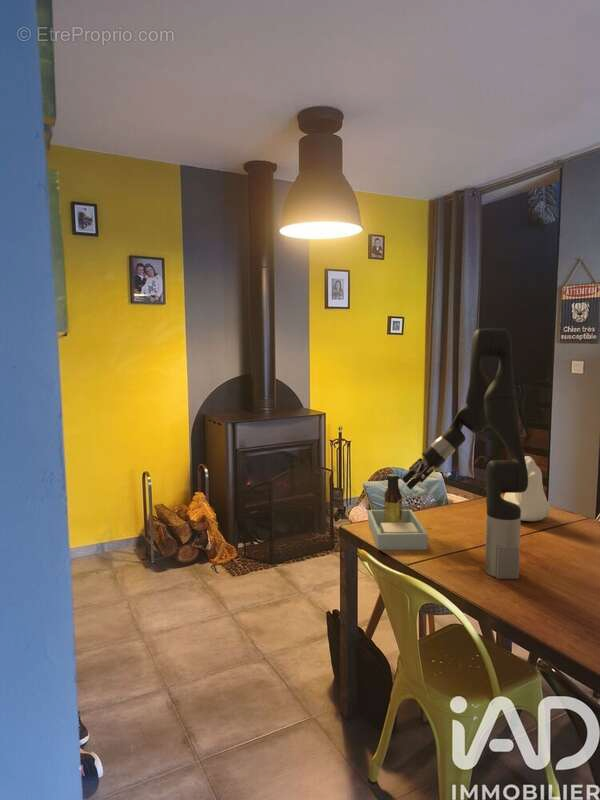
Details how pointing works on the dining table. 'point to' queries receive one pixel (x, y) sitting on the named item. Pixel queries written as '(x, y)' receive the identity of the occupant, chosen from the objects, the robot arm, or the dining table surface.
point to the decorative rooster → (531, 495)
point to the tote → (397, 539)
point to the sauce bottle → (393, 500)
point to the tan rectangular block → (398, 528)
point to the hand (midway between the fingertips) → (405, 484)
